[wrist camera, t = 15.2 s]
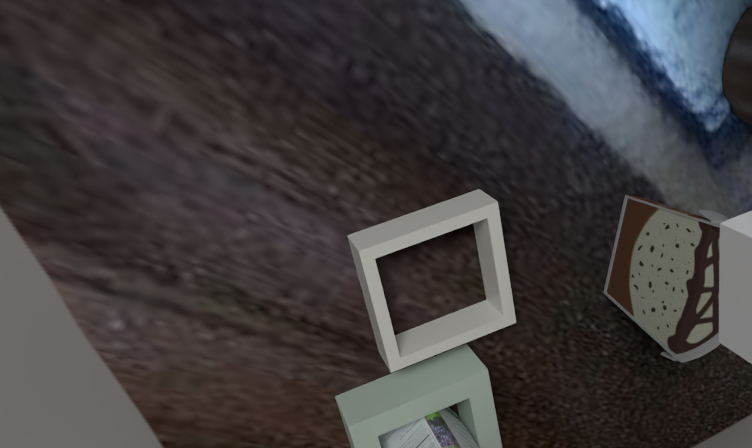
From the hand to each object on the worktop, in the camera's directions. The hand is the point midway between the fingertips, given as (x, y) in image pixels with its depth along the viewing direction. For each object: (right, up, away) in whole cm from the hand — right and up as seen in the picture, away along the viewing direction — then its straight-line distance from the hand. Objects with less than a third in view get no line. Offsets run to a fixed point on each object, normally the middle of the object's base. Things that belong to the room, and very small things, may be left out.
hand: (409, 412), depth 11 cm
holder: (+4, -1, +41) cm, 41 cm away
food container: (+23, +2, +47) cm, 52 cm away
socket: (+3, -14, +46) cm, 48 cm away
